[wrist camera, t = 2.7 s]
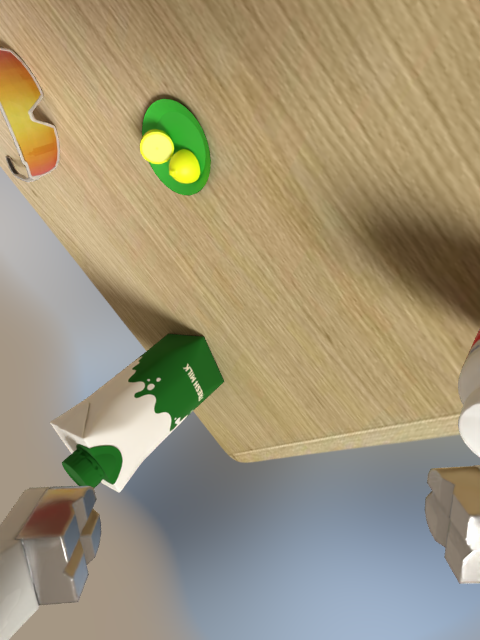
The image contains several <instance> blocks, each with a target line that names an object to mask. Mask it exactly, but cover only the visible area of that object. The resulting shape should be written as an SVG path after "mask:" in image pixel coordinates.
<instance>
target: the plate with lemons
mask: <svg viewBox="0 0 480 640" xmlns="http://www.w3.org/2000/svg"><path fill="white" fill-rule="evenodd" d="M140 151H141V154H142V156H143V157H144V158H145V159H146V160H147V161H148V162H149V163H150V165H151V167H152V169H153V170H154V172H155V174H156V175H157V176H158V178H159V179H160V180H161V181H162V182H163V183H164V184H165V185H166V186H167V187H168V188H170V189H171V190H172V191H174V192H176V193H178V194H182V195H192V194H196V193H197V192H199V191H200V190H201V189H202V188H203V187H204V186H205V184H206V182H207V180H208V177H209V173H210V163H211V160H210V151H209V147H208V143H207V139H206V137H205V134H204V132H203V130H202V128H201V126H200V124H199V122H198V121H197V120H196V118H195V117H194V116H193V114H192V113H191V112H190V111H189V110H188V109H187V108H186V107H184V106H183V105H181V104H180V103H178V102H176V101H173V100H171V99H161V100H157V101H156V102H154V103H153V104H151V106H150V107H149V108H148V109H147V111H146V114H145V116H144V120H143V126H142V139H141V142H140Z"/></svg>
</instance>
